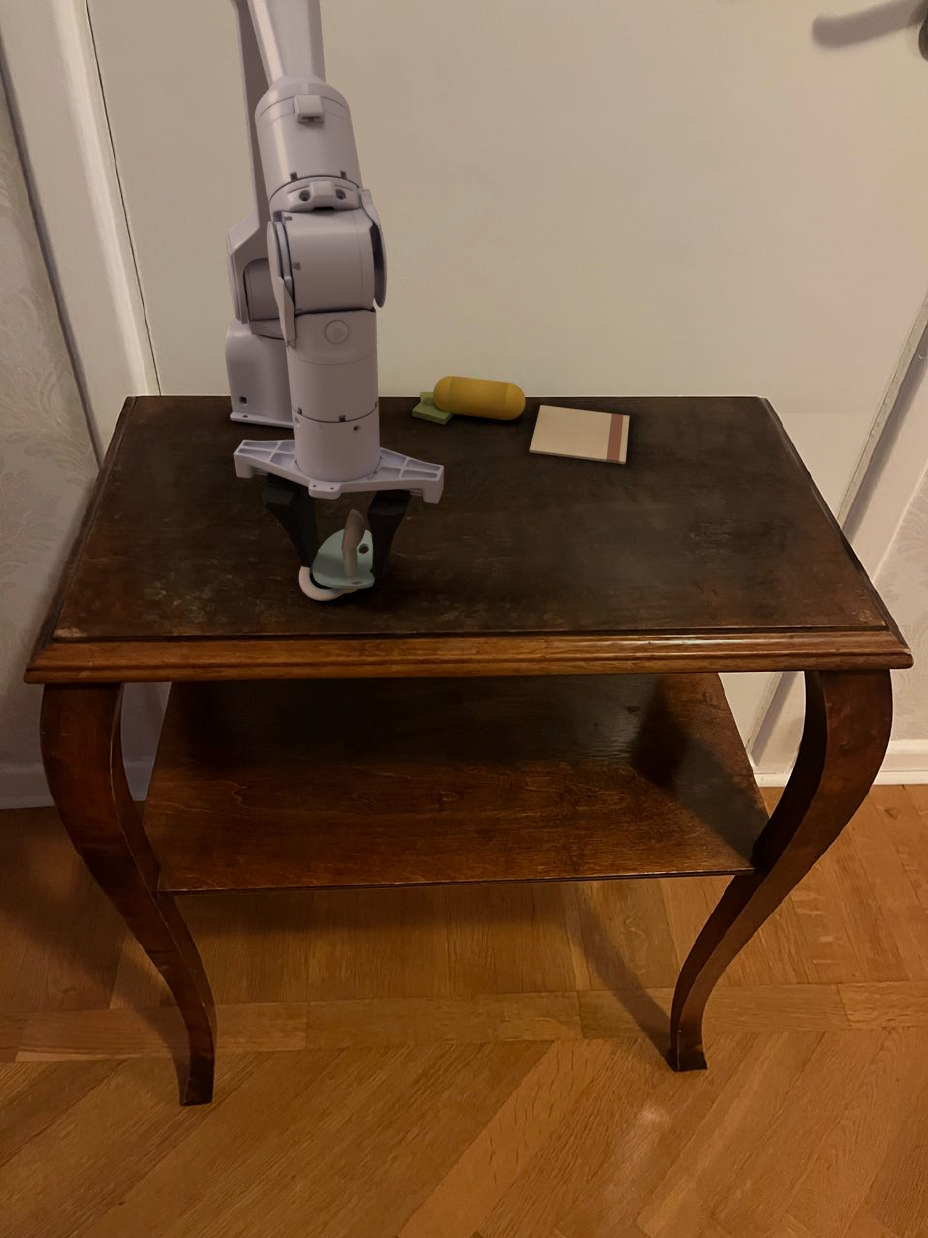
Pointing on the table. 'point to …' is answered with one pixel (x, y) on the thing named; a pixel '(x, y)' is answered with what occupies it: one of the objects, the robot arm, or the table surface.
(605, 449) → the towel
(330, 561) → the pacifier
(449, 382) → the corn
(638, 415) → the table surface
